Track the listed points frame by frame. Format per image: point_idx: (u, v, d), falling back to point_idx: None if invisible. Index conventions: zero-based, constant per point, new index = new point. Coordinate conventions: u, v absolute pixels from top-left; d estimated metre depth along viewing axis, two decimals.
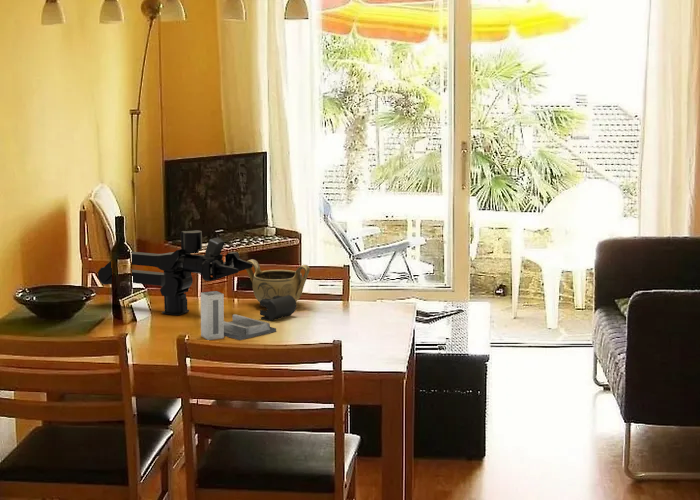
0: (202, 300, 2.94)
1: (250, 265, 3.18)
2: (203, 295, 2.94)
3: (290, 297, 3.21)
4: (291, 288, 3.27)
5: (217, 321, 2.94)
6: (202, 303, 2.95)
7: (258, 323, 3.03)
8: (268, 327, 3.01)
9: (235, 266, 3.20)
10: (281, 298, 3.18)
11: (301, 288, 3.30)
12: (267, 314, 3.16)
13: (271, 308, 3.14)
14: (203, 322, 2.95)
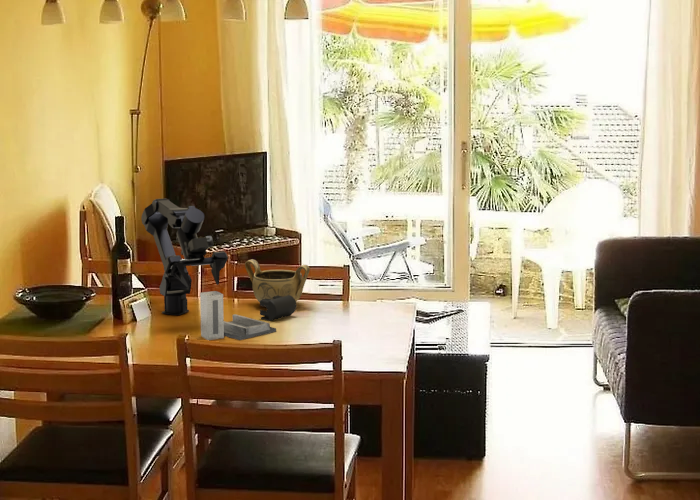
0: (202, 300, 2.94)
1: (217, 282, 3.04)
2: (203, 295, 2.93)
3: (290, 297, 3.21)
4: (291, 288, 3.27)
5: (217, 321, 2.94)
6: (202, 303, 2.95)
7: (258, 323, 3.03)
8: (268, 327, 3.01)
9: (213, 268, 3.08)
10: (281, 298, 3.18)
11: (301, 288, 3.30)
12: (267, 314, 3.16)
13: (271, 308, 3.14)
14: (203, 322, 2.95)
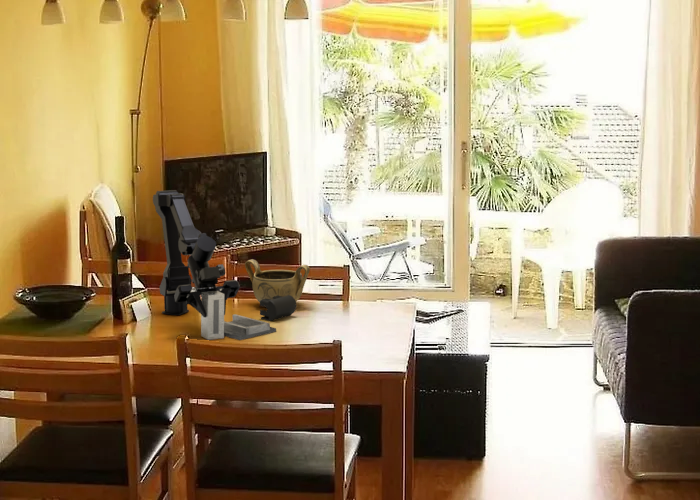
0: (203, 299, 2.94)
1: None
2: (204, 295, 2.94)
3: (290, 297, 3.21)
4: (291, 288, 3.27)
5: (218, 321, 2.94)
6: (203, 303, 2.95)
7: (258, 323, 3.03)
8: (268, 327, 3.01)
9: None
10: (281, 298, 3.18)
11: (301, 288, 3.30)
12: (267, 314, 3.16)
13: (271, 308, 3.14)
14: (203, 322, 2.95)
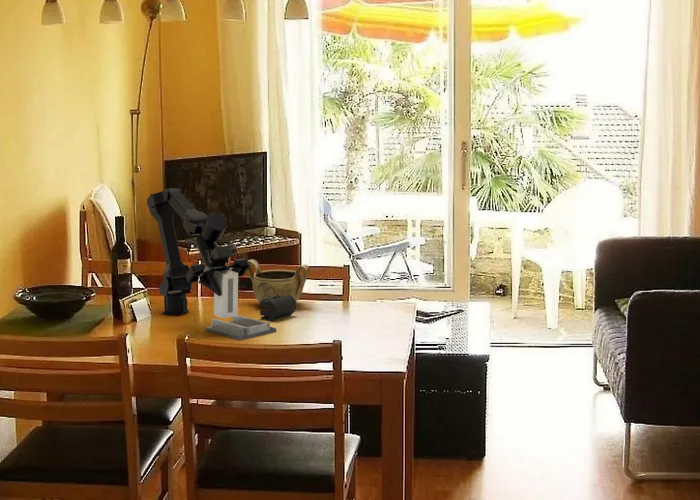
0: (216, 278, 2.96)
1: None
2: (218, 274, 2.95)
3: (290, 297, 3.21)
4: (291, 288, 3.27)
5: (232, 300, 2.96)
6: (216, 282, 2.96)
7: (258, 323, 3.03)
8: (268, 327, 3.01)
9: None
10: (281, 298, 3.18)
11: (301, 288, 3.30)
12: (267, 314, 3.16)
13: (271, 308, 3.14)
14: (217, 301, 2.97)
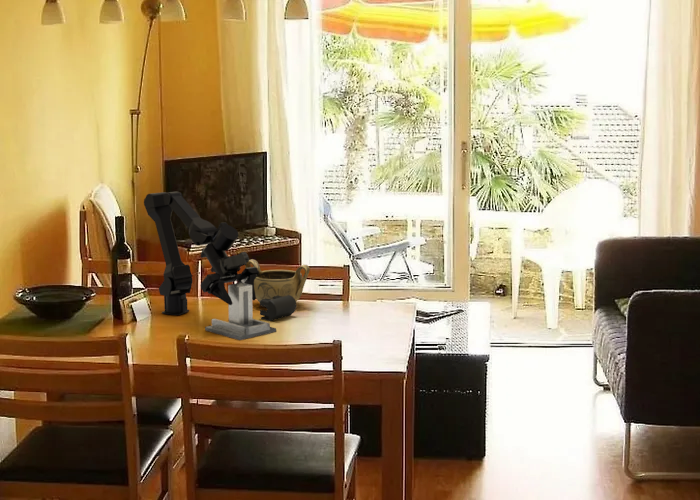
0: (231, 292, 3.01)
1: (253, 298, 3.04)
2: (232, 287, 3.00)
3: (290, 297, 3.21)
4: (291, 288, 3.27)
5: (247, 312, 3.01)
6: (231, 295, 3.01)
7: (258, 323, 3.03)
8: (268, 327, 3.01)
9: None
10: (281, 298, 3.18)
11: (301, 288, 3.30)
12: (267, 314, 3.16)
13: (271, 308, 3.14)
14: (232, 314, 3.01)
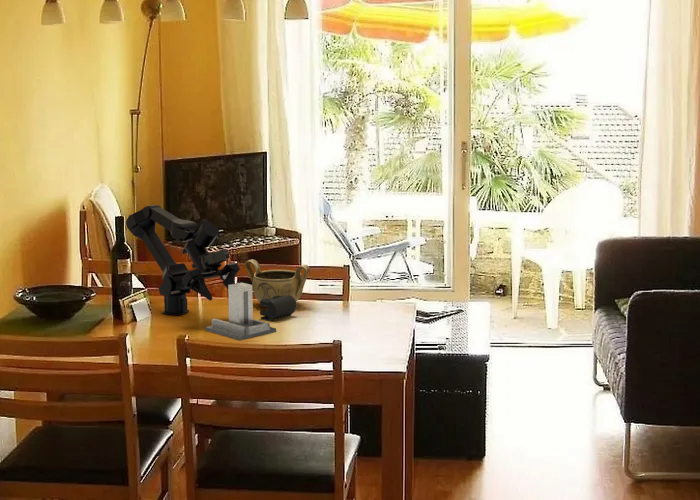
0: (231, 292, 3.01)
1: None
2: (232, 287, 3.00)
3: (290, 297, 3.21)
4: (291, 288, 3.27)
5: (247, 312, 3.01)
6: (231, 295, 3.01)
7: (258, 323, 3.03)
8: (268, 327, 3.01)
9: (226, 280, 3.14)
10: (281, 298, 3.18)
11: (301, 288, 3.30)
12: (267, 314, 3.16)
13: (271, 308, 3.14)
14: (232, 314, 3.01)
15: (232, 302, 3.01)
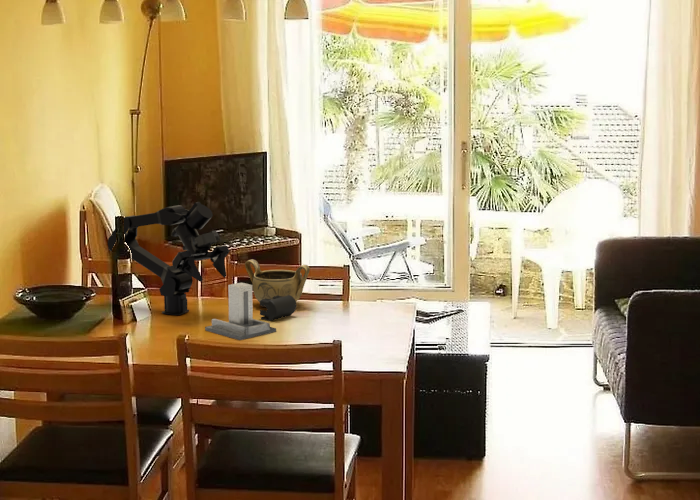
0: (231, 292, 3.01)
1: (224, 275, 3.15)
2: (232, 287, 3.00)
3: (290, 297, 3.21)
4: (291, 288, 3.27)
5: (247, 312, 3.01)
6: (231, 295, 3.01)
7: (258, 323, 3.03)
8: (268, 327, 3.01)
9: (216, 262, 3.18)
10: (281, 298, 3.18)
11: (301, 288, 3.30)
12: (267, 314, 3.16)
13: (271, 308, 3.14)
14: (232, 314, 3.01)
15: (232, 302, 3.01)
